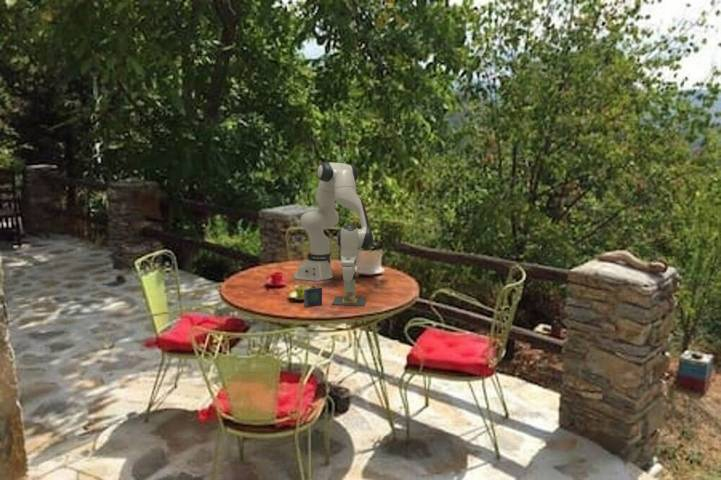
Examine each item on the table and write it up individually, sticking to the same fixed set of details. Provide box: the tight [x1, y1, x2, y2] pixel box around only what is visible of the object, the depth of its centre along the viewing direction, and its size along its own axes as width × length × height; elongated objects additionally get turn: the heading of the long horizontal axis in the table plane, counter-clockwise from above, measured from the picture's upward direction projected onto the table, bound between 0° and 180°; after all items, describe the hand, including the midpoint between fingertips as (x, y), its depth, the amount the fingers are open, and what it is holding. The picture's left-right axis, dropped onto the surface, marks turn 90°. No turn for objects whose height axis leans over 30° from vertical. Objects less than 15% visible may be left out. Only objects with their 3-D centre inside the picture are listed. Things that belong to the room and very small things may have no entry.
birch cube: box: [343, 290, 356, 302], centre depth 290 cm, size 5×5×5 cm
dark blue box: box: [303, 283, 323, 308], centre depth 284 cm, size 9×3×11 cm, turn 117°
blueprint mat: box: [331, 295, 368, 307], centre depth 291 cm, size 16×13×1 cm
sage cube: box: [343, 279, 356, 293], centre depth 289 cm, size 5×5×5 cm
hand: (349, 285), depth 289 cm, fingers open, 8 cm apart
